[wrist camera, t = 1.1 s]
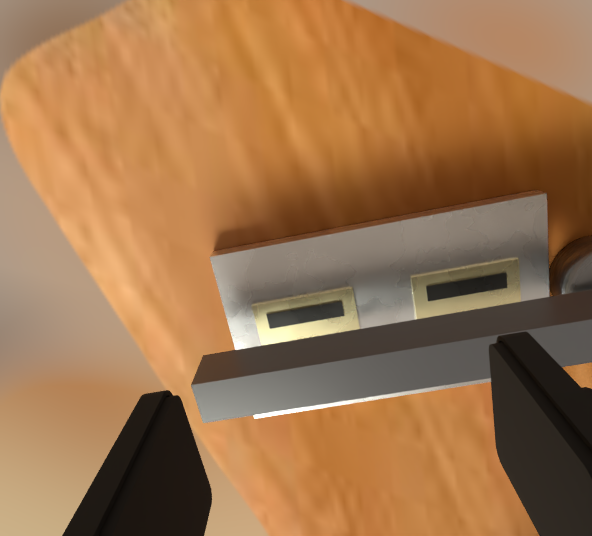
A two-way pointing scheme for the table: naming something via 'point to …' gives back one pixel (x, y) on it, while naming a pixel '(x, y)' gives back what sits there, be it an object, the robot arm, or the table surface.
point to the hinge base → (572, 268)
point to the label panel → (386, 273)
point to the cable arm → (386, 357)
